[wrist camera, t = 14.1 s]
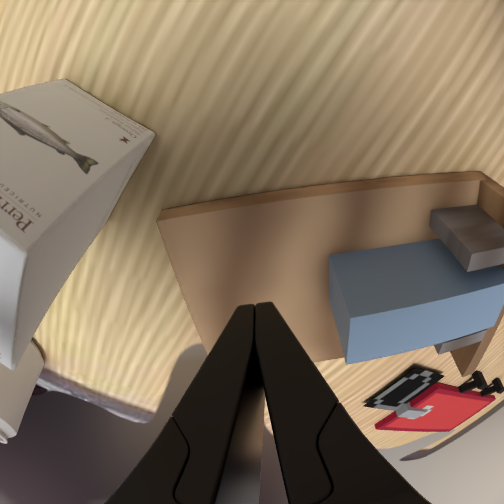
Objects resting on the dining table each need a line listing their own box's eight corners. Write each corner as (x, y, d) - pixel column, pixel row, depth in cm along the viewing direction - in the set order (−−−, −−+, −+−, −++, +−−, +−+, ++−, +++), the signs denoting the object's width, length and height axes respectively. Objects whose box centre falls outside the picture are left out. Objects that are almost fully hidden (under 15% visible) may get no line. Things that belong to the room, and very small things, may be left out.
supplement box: (160, 132, 17) (35, 261, 6) (107, 224, 20) (14, 379, 9) (65, 73, 14) (-112, 133, 3) (26, 170, 17) (-100, 283, 7)
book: (471, 233, 19) (513, 280, 14) (460, 277, 21) (493, 326, 16) (328, 255, 19) (350, 318, 15) (329, 301, 22) (346, 364, 17)
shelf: (480, 171, 18) (538, 214, 12) (445, 321, 26) (473, 373, 20) (162, 209, 19) (131, 273, 14) (216, 359, 27) (212, 423, 22)
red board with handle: (426, 350, 28) (336, 416, 36) (434, 371, 26) (339, 435, 33) (508, 380, 37) (446, 425, 45) (514, 392, 35) (450, 437, 42)
